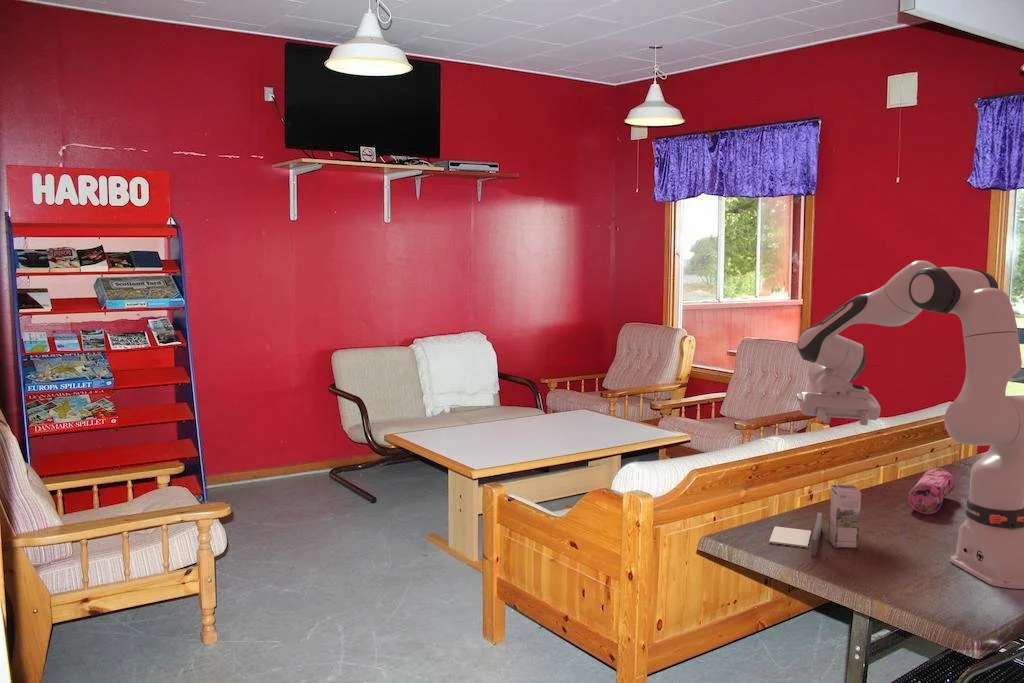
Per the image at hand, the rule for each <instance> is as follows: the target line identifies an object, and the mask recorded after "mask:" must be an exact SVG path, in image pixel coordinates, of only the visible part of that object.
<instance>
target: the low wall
mask: <svg viewBox="0 0 1024 683" xmlns="http://www.w3.org/2000/svg"><path fill="white" fill-rule="evenodd" d="M822 524H823V512H817V516H816V520H815V524H814V528H813V532H812V536H811V550H810V552H811V553H810V555H811V557H815V556H816V557H817V553H816V552H818V548H819V543H818V542H820V538H819V537H821V533H822V532H821V531H822ZM817 547H818V548H817Z"/></svg>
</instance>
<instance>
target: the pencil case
mask: <svg viewBox="0 0 1024 683" xmlns="http://www.w3.org/2000/svg"><path fill="white" fill-rule="evenodd" d="M955 487H956V481H955V477H953V475H952V474H951V473H950V472H949V471H948V470H946V469H944V468H943V467H934V468H931V469H929V470H927V471H926V472H925V473H924V474H923V475H922V476H921V478H920V479H919V480H918V481H917V483H916V484H915V486H913V487H912V488H911V489H910V491H909V492H908V494H907V497H908V498H907V500H908V505H909V507H911V509H913V510H914V511H915V512H918V513H920V514H925V515H932V514H936V513H937V512H938V511H939V510H940V509H941V508H942V506H943V502H944V498H945V497H947V496H948V495H949V494H950V493H951V492H953V491H954V490H955Z"/></svg>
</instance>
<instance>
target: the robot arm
mask: <svg viewBox="0 0 1024 683" xmlns="http://www.w3.org/2000/svg"><path fill="white" fill-rule="evenodd" d="M923 311H927V312H930V313H938V314H945V315H947V314H951V315H952V314H953V315H956V316H957V317H958V318H959V319H960V321H961V325H962V326H961V327H962V337H963V345H964V346H963V347H964V355H965V367H966V368H965V378H964V381H963V384H962V388H961V391H959V394H958V396H957V397H956V398H955V399H954V401H952V402H951V403H950V404H949V405H948V406H947V409H946V411H945V413H944V428H945V430H946V432H947V434H948V435H949V436H950V438H951V439H952V440H953V441H955V442H956V443H959V444H964V445H970V446H976V447H980V446H989V447H988V448H989V449H988V450H987V452H985V454H984V455H983V457H981V458H980V459H979V460H977V461H976V462H974V463H973V465H972V467H971V470H970V477H969V478H970V479H969V493H968V499H967V500H966V504H965V516H966V519H965V520H964V522H963V523H962V524H961V525H960V526H959V530H958V536H957V543H956V550H955V554H954V555H951V556H950V559H949V562H950V563H952V564H953V565H955V566H957V567H959V568H960V569H962V570H964V571H966V572H967V573H969V574H971V575H972V576H974V577H976V578H978V579H980V580H982V581H983V582H984V583H987V584H988V585H991V586H994V587H997V588H998V587H999V588H1000V587H1001V588H1004V589H1005V588H1007V589H1017V590H1024V394H1019V395H1007V394H1006V391H1007V385H1008V383H1009V381H1010V379H1011V378H1012V377H1014V376H1015V375H1017V373H1019V372H1020V370H1021V368H1022V367H1023V366H1022V365H1023V359H1022V351H1021V346H1020V345H1021V344H1020V338H1019V331H1018V324H1017V320H1016V316H1015V311H1014V309H1013V306H1012V303H1011V301H1010V298H1009V296H1008V294H1007V293H1006V292H1005V291H1003V290H1002V289H1001V288H999V284H998V281H997V280H996V278H995V277H994V276H993V275H991V274H990V273H988V272H985V271H983V270H980V269H969V268H962V267H957V266H942V267H940V266H936V265H935V264H934V263H932V262H930V261H928V260H921V259H920V260H915V261H913V262H911V263H909V264H907V265H906V266H905V267H903V268H902V269H900V271H898V272H897V273H895V274H894V275H893V276H892V277H890V279H889V280H887V282H886V283H884V284H883V285H882V286H880V287H879V288H877V289H875V290H873V291H871V292H868V293H865V294H864V293H863V294H858V295H856V296H854V297H852V298H851V299H849V300H848V301H845V303H843V304H842V305H841V306H840V307H837V308H836V309H835V310H834V311H833V312H832V313H830V314H828V315H827V316H825V317H824V318H823V319H822V320H820V321H819V322H817V323H815V324H814V325H812V326H811V325H810V326H809V327H808V328H806V329H805V330H803V331H802V333H801V335H799V338H798V340H797V344H796V345H797V351H798V353H799V356H801V358H802V359H803V361H807V362H809V363H810V364H809V366H808V378H809V380H808V381H809V383H810V386H811V388H812V390H813V391H802V392H800V393H797V394H796V400H797V401H798V402H799V409H800V413H801V414H802V415H804V416H809V417H810V416H812V417H816V418H819V419H820V420H822V422H823V423H824V424H830V423H831V420H832V418H840V419H841V418H842V419H855V420H857V419H858V420H859V424H860V426H868V423H869V420H870V421H871V420H872V421H876V420H878V419H879V418H880V414H881V409H882V408H881V405H880V404H879V402H878V400H877V399H876V397H875V396H874V395H872V394H871V393H870V389H869V388H868V387H867V386H865V385H860V384H854V383H852V382H853V381H854V380H855V379H857V378H858V376H860V374H861V373H862V372H863V370H864V369H865V366H866V363H867V354H866V350H865V348H864V345H863V344H862V343H860V342H857V341H855V340H852V339H850V338H847V337H844V336H843V335H842V336H841V335H840V333H841V332H842V331H844V330H845V329H847V328H848V327H849V326H852V325H856V324H867V325H868V324H870V325H878V326H884V327H901V326H904V325H905V324H908V323H909V322H912V321H913V320H914V319H915V318H916V317H917V316H918V315H919V314H920V313H922V312H923Z"/></svg>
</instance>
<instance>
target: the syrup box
mask: <svg viewBox="0 0 1024 683" xmlns="http://www.w3.org/2000/svg"><path fill="white" fill-rule="evenodd" d="M829 498H830V499H829V520H828V541H829V543H830V544H831V545H832V546H833V547H834V549H835V548H836V549H837V548H838V549H858V548H859V538H860V536H859V535H860V519H861V518H860V517H861V505H862V504H861V502H862V492H861V491H860V489H859V488H858V487H857V486H856V485H855V484H831V485H830V497H829Z"/></svg>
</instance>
